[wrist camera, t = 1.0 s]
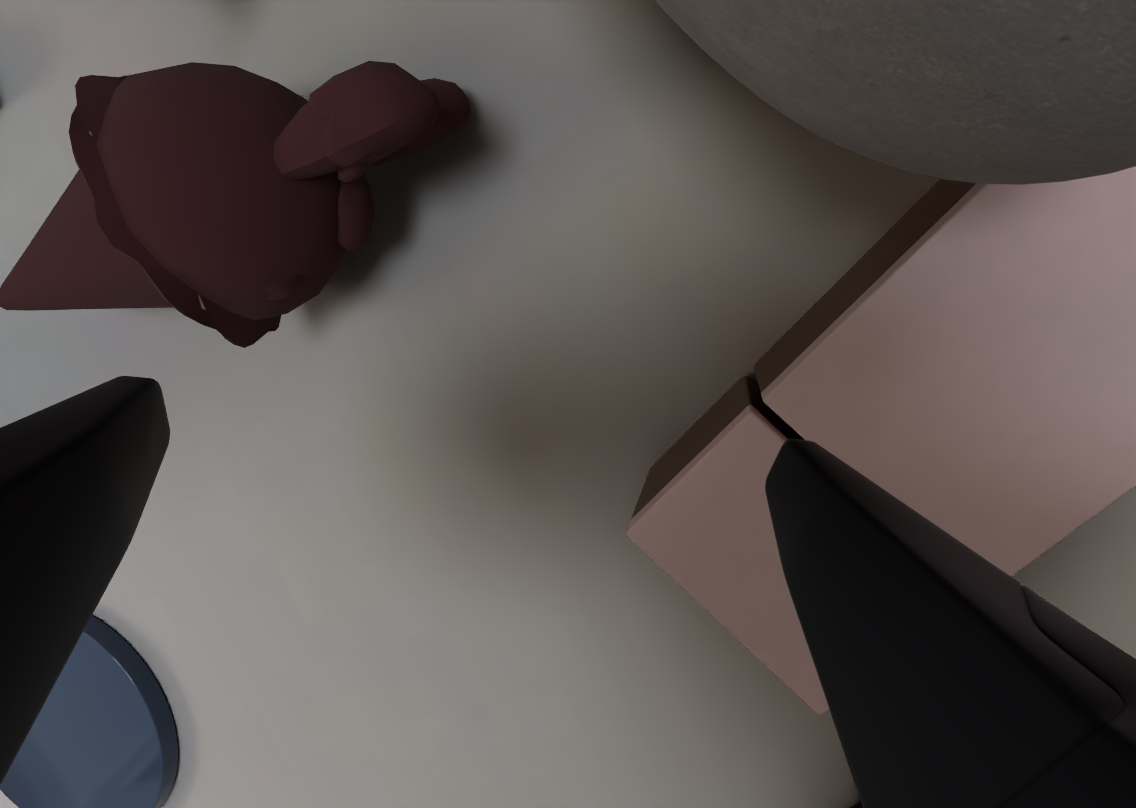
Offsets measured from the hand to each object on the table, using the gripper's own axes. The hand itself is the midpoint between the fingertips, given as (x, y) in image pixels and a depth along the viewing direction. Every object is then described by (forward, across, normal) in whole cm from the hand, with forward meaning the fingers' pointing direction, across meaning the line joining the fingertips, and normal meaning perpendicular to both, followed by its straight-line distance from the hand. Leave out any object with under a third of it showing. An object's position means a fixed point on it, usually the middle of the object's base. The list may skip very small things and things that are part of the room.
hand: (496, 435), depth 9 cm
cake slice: (+6, -9, +6) cm, 12 cm away
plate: (+9, +15, +25) cm, 30 cm away
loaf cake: (+6, -12, -1) cm, 14 cm away
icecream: (+14, +6, +3) cm, 15 cm away
